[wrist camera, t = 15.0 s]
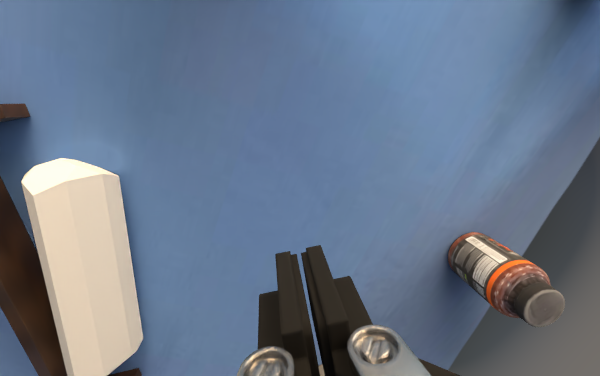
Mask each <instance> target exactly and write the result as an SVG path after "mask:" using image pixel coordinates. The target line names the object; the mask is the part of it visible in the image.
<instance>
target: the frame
mask: <svg viewBox="0 0 600 376" xmlns="http://www.w3.org/2000/svg"><path fill="white" fill-rule="evenodd" d="M25 117H30V114H29V112H28V110H27V107H26V105H25V104H0V122H4V121H10V120H15V119H20V118H25ZM0 307H1V309H2V310H3V312H4V314H5V316H6V318H7V319H8V321H9V323H10V325H11V327H12V329H13V330H14V332H15V334H16V336H17V338H18V339H19V341H20V343H21V345H22V347H23V348H24V350H25V352H26V354H27V356H28V357H29V359H30V361H31V363H32V365H33V366H34V368H35V370H36V372H37V374H38V375H39V376H67V372H66V368H65V364H64V360H63V355H62V351H61V347H60V343H59V339H58V334H57V330H56V326H55V322H54V318H53V313H52V309H51V305H50V301H49V297H48V292H47V288H46V284H45V280H44V276H43V271H42V267H41V263H40V259H39V255H38V253H37V251H36V249H35V247H34V245H33V243H32V241H31V239H30V237H29V234H28V232H27V230H26V228H25V226H24V224H23V222H22V220H21V218H20V216H19V214H18V212H17V210H16V208H15V206H14V204H13V201H12V199H11V197H10V195H9V193H8V191H7V189H6V187H5V185H4V183H3V181H2V179H1V177H0ZM107 376H142V374H141V372H140V370H139V368H137V369H132V370H128V371H124V372H120V373H116V374H111V375H107Z"/></svg>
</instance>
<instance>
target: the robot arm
mask: <svg viewBox="0 0 600 376" xmlns="http://www.w3.org/2000/svg"><path fill="white" fill-rule="evenodd" d="M301 256H302V261H303V267H304V273H305V278H306V284H307V290H308V295H309V301H310V307H311V312H312V318H313V323H314V327H315V332H316V337H317V341H318V346H319V350H320V355H321V360H322V364H323V369H324V374H325V376H460V375H457V374H455V373H452V372H450V371H448V370H445V369H443V368H441V367H438V366H436V365H433V364H431V363H429V362H426V361H424V360H421V359H419V358H417V357H416V356H415V354H414V353H413V352H412V351H411V349H410V348H409V347H408V345H407V344H406V343H405V342H404V340H403V339H402V338H401V337H400V336H399V335H398V334H397V333H396V332H395V331H394V330H392V329H390V328H388V327H385V326H381V325H373V324H372V322H371V320H370V317H369V315H368V313H367V311H366V309H365V307H364V305H363V303H362V300H361V298H360V296H359V294H358V292H357V290H356V288H355V286H354V283H353V281H352V279H351V277H350V276H347V277H342V278H337V279H333V277H332V275H331V272H330V269H329V267H328V264H327V261H326V258H325V256H324V253H323V250H322V248H321V245H319V246H314V247H309V248H306V252H304V253H301ZM276 269H277V283H278V291H273V292H269V293H264V294H260V295H259V326H258V350H256V351H254V352H253V353H251V354H250V355H249V356H248V357H247V358H246V359H245V360H244V361H243V363H242V364H241V366H240V368H239V371H238V374H237V376H320V373H319V367H318V362H317V356H316V351H315V345H314V340H313V334H312V329H311V324H310V319H309V314H308V309H307V304H306V299H305V294H304V289H303V284H302V279H301V274H300V269H299V264H298V259H297V254H294V255H291V254H290V251H288V252H283V253H278V254H276Z"/></svg>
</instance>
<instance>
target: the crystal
mask: <svg viewBox="0 0 600 376" xmlns="http://www.w3.org/2000/svg"><path fill="white" fill-rule="evenodd" d="M21 183H22V187H23V192H24V196H25V200H26V204H27V208H28V213H29V217H30V221H31V225H32V229H33V234H34V238H35V242H36V246H37V250H38V255H39V259H40V263H41V267H42V271H43V276H44V280H45V284H46V288H47V292H48V297H49V301H50V305H51V309H52V313H53V318H54V322H55V326H56V330H57V334H58V339H59V343H60V347H61V351H62V355H63V360H64V364H65V368H66V372H67V376H107V375H109V374H110V373H111V372H112V371H114V370H115V369H116V368H117V367H118V366H120V365H121V364H122V363H123V362H124V361H126V360H127V359H128V358H129V357H130V356H131V355H133V354H134V353H135V352H136V351H137V349H138V347H139V346H140V344H141V342H142V340H143V333H142V327H141V320H140V313H139V307H138V300H137V293H136V287H135V280H134V273H133V267H132V260H131V253H130V247H129V240H128V233H127V227H126V220H125V213H124V207H123V200H122V193H121V187H120V180H119V176H118V175H116V174H113V173H111V172H109V171H106V170H104V169H102V168H99V167H96V166H93V165H90V164H87V163H84V162H81V161H77V160H73V159H64V158H60V159H57V160H53V161H50V162H47V163H43V164H40V165H36V166H34V167H33V168H32V169H31V170H30V171H28V172H27V173H26V174H25V175H24V177H23V179H22V181H21Z"/></svg>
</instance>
